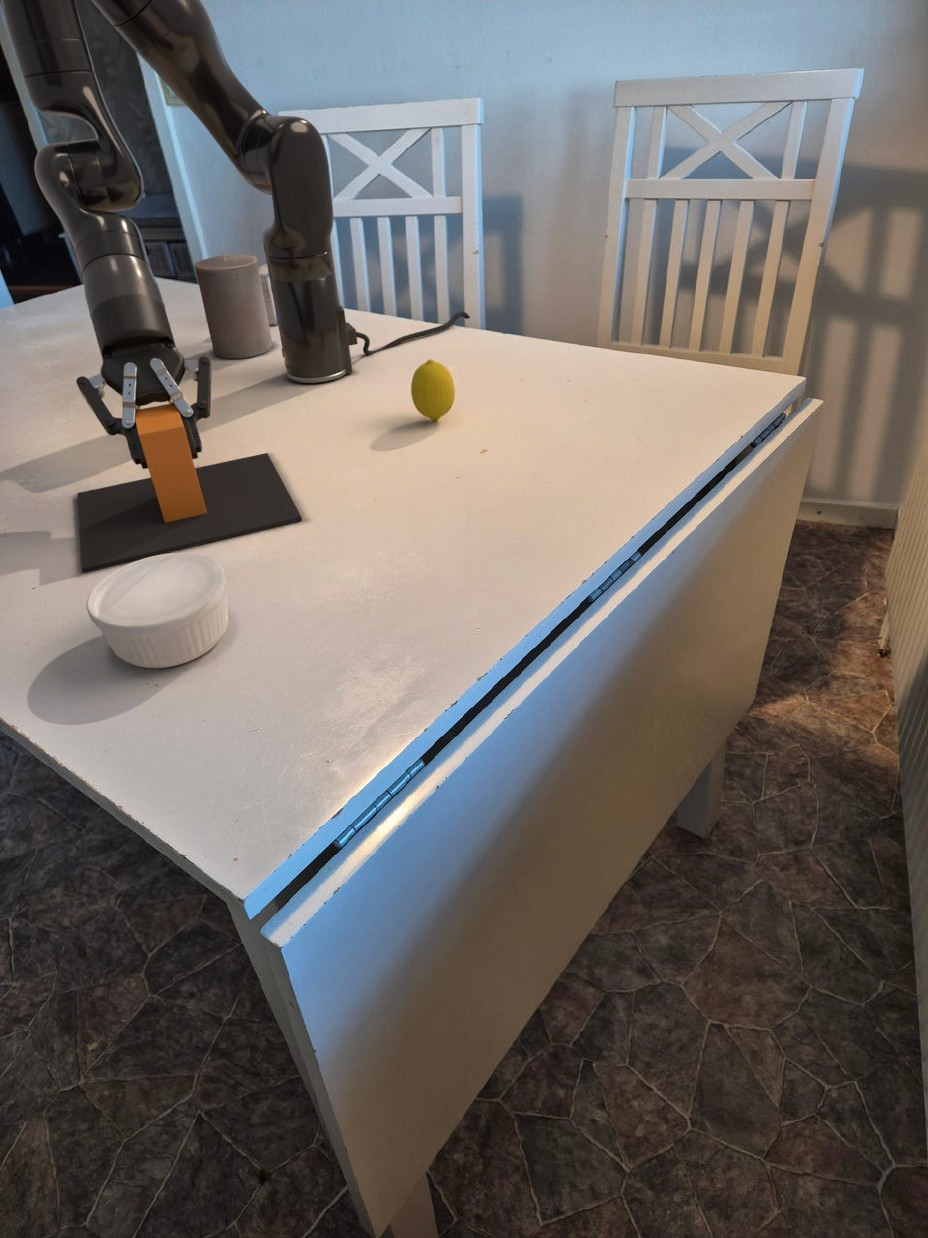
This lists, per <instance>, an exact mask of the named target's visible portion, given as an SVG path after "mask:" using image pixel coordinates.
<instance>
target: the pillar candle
mask: <svg viewBox="0 0 928 1238" xmlns="http://www.w3.org/2000/svg"><path fill="white" fill-rule="evenodd" d="M221 254H222V255H218V256H212V257H208V258H204V259H201V260H199V261H197V262H195V264H194V269H195V274H196V278H197V283H198V287H199V288H198V289H199V292H200V296H201V300H202V305H203V310H204V314H205V319H206V323H207V328H208V334H209V336H210V341H211V347H212V351H213V354H214V355H215V356H216V357H218V358H222V359H230V360H231V359H234V360H235V359H245V358H246V359H247V358H251V357H256V356H260V355H263V354H265V353H268V351H269V350H270V349H271V348H272V347H273V338H272V332H271V328H270V325H269V322H268V316H267V311H266V306H265V300H264V295H263V290H262V285H261V279H260V274H259V268H258V267H259V264H258V263H259V262H258V258H257V256H254V255H248V254H225V252H224V251H222V253H221Z"/></svg>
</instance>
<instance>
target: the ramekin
mask: <svg viewBox="0 0 928 1238" xmlns="http://www.w3.org/2000/svg"><path fill="white" fill-rule="evenodd" d="M227 588H228V580H227V575H226V572H225V570H224V568H223V566H222V565H221V564H220V563H219V562H218V561H216V560H214V559H213V558H211V557H209V556H204V555H201V554H197V553H191V552H190V553H189V552H169V553H164V554H160V555H155V556H151V557H147V558H143V559H139V560H134V561H132V562H130V563H128V564H126V565H124V566H122V567H120V568H118V569H116V570H114V571H112V572H111V573H109V574H108V575H106V576H105V577H103V579H101V580H100V581H99V582H98V583H96V585H95V586H94V587H93V588H92V590H91V591H90V592H89V594H88V596H87V600H86V610H87V611H86V612H87V613H88V614H87V615H88V616H89V618H90V620H91V622H92V623H93V624H94V625H95V626H96V627H97V628H98V629H99V631H100V632H101V634H102V635H103V637H104V638H105V640H106V641H107V643H108V645H109V647H110V648H111V649H112V651H113V652H114V653H115V655H116V656H117V657H118V658H119V659H122V661H124V662H126V663H128V664H130V665H133V666H136V667H139V668H144V669H165V668H166V669H167V668H170V667H176V666H180V665H183V664H186V663H189V662H191V661H193V660H195V659H198V658H199V657H201V656H203V655H204V654H207V653H208V652H209V651H211V650H212V649H213V648H214V647H215V646H216V645H217V644H218V643H219V642H220V641H221V639H222V637H223V635H225V632H226V630H227V628H228V624H229V609H228V599H227V590H228V589H227Z"/></svg>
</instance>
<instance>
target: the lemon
mask: <svg viewBox="0 0 928 1238" xmlns="http://www.w3.org/2000/svg"><path fill="white" fill-rule="evenodd" d="M412 375H413V376H412V378H411V385H410V393H411V400H412V403H413V405H414V407H415V409H416V410H417V411H418V413H419V414H421V415H422V416H424V417H426V418H429V419H430V420H432V422H437V421H438V420H440V418H442V417H444V416H446V415H447V414H448V413H449V412H450V411H451V409H452V407H453V405H454V403H455V395H456V389H455V383H454V380H453V376H452V374H451V372H450V370H449V369H448V368H447V367H446V366H445V365H444V364H442V363H440V362H438V361H435V360H434V359H427V361H426V362H424V363H422V364H421V365H419V366H418V367H417V368H416V370H415V371H414V373H413V374H412Z"/></svg>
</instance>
